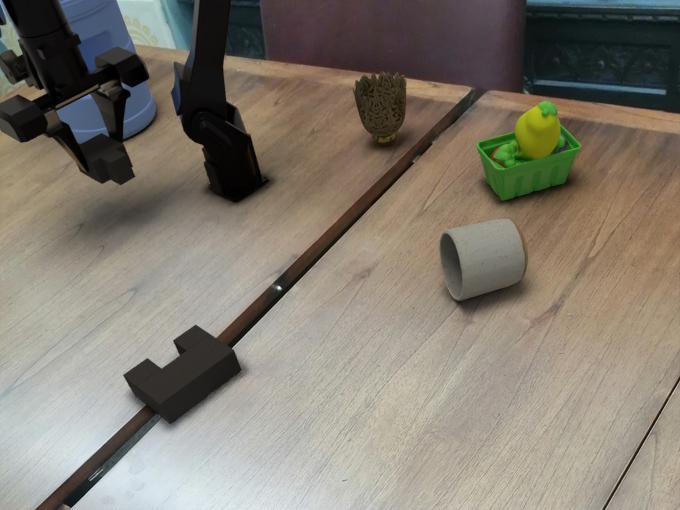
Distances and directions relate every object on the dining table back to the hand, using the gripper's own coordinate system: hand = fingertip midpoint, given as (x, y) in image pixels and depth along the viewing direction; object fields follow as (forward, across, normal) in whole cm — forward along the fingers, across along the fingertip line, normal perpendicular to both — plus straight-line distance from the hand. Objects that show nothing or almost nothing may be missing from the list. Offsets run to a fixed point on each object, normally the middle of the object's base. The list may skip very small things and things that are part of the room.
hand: (103, 161), depth 91 cm
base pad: (+8, +15, +34) cm, 38 cm away
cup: (+8, -34, +18) cm, 39 cm away
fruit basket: (+8, -36, +42) cm, 56 cm away
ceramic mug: (+8, -17, +49) cm, 52 cm away
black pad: (+1, 0, +1) cm, 2 cm away
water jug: (+8, -14, -26) cm, 31 cm away
